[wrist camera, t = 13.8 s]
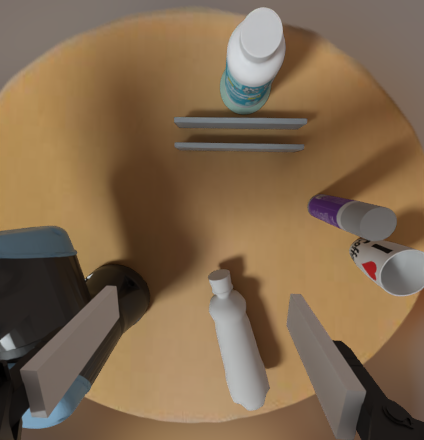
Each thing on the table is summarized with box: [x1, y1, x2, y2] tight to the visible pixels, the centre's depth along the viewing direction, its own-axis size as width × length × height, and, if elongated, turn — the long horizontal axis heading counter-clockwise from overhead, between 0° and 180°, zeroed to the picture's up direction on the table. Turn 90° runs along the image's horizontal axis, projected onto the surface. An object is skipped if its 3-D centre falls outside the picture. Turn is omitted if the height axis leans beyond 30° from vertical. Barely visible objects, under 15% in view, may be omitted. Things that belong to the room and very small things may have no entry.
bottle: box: [208, 269, 270, 410], centre depth 42 cm, size 9×9×30 cm
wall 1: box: [174, 117, 307, 129], centre depth 34 cm, size 22×1×4 cm, turn 89°
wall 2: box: [175, 142, 304, 152], centre depth 35 cm, size 22×1×4 cm, turn 89°
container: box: [308, 194, 397, 241], centre depth 32 cm, size 5×5×15 cm
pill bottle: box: [225, 8, 286, 108], centre depth 28 cm, size 8×7×14 cm
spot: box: [220, 69, 271, 115], centre depth 35 cm, size 9×9×1 cm
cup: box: [349, 238, 424, 296], centre depth 36 cm, size 8×8×10 cm
